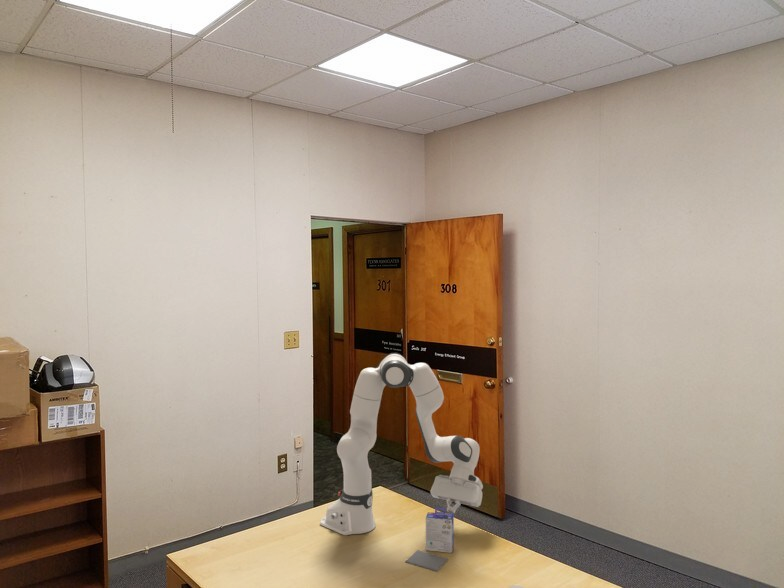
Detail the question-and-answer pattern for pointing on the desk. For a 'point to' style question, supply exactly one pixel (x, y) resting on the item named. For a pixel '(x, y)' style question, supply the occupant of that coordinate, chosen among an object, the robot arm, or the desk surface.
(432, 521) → the ink cartridge box
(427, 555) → the mat
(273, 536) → the desk surface
